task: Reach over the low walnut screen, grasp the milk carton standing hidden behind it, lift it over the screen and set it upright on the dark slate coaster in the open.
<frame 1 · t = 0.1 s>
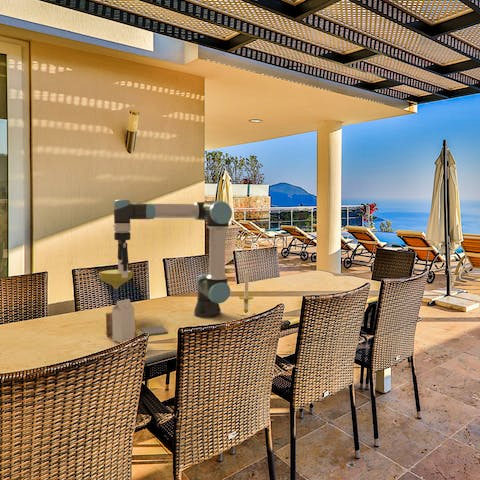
hand: (122, 275, 204), 28 cm above the table, fingers open, 13 cm apart
milk carton: (123, 340, 193), on the table
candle: (245, 314, 241), on the table
screen: (120, 334, 202), on the table
cocktail glass: (116, 315, 234), on the table
coaster: (154, 331, 207), on the table
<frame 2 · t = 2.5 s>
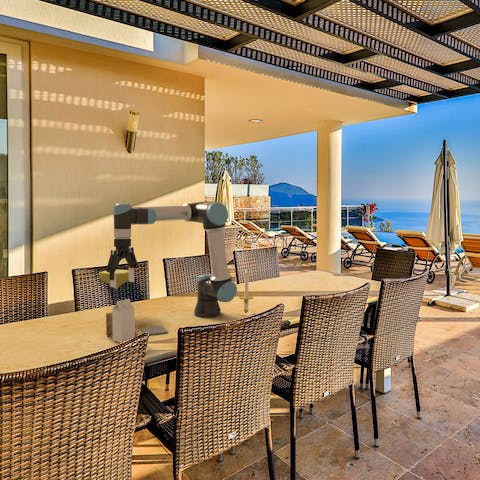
hand: (122, 284, 190), 26 cm above the table, fingers open, 13 cm apart
nothing on the table moved.
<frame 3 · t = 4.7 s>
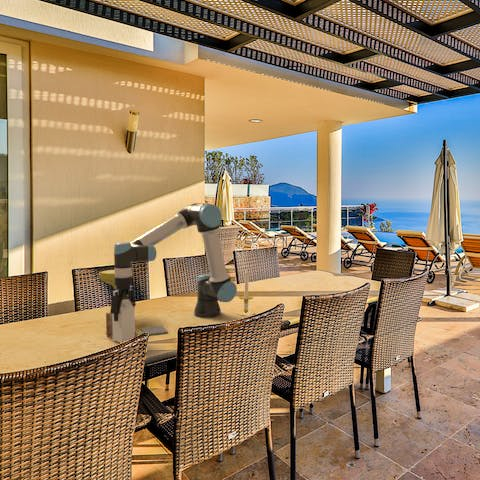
hand: (123, 324, 192), 7 cm above the table, fingers closed on milk carton, 8 cm apart
milk carton: (123, 340, 193), on the table, touching gripper
everything else where it was.
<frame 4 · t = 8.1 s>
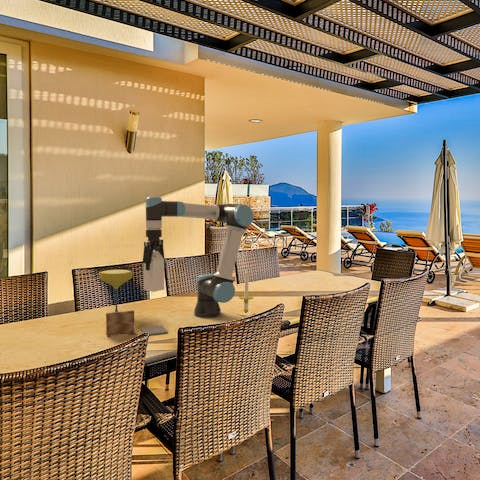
hand: (153, 275, 204), 28 cm above the table, fingers closed on milk carton, 8 cm apart
milk carton: (153, 290, 205), point 21 cm above the table, touching gripper
everything else where it was.
when the fingers open (9 cm above the table, at t = 11.9 s): milk carton stays where it is, resting on coaster.
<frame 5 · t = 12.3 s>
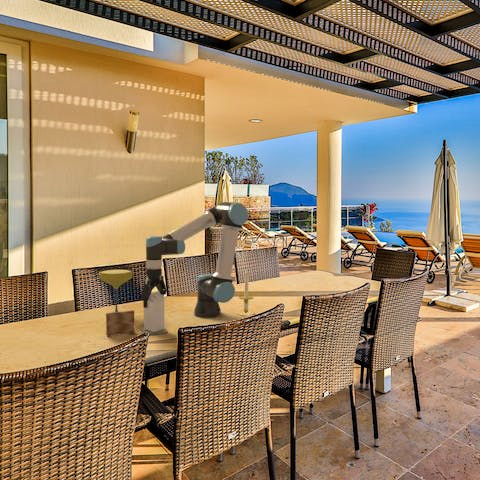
hand: (154, 310, 206), 10 cm above the table, fingers open, 13 cm apart
milk carton: (154, 329, 207), point 1 cm above the table, touching coaster
everything else where it was.
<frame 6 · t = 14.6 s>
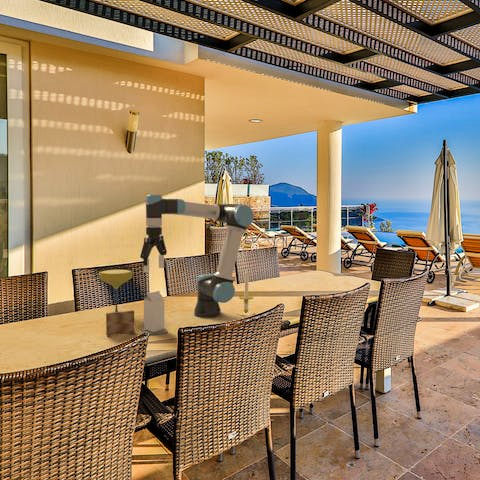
hand: (154, 270, 204), 31 cm above the table, fingers open, 13 cm apart
nothing on the table moved.
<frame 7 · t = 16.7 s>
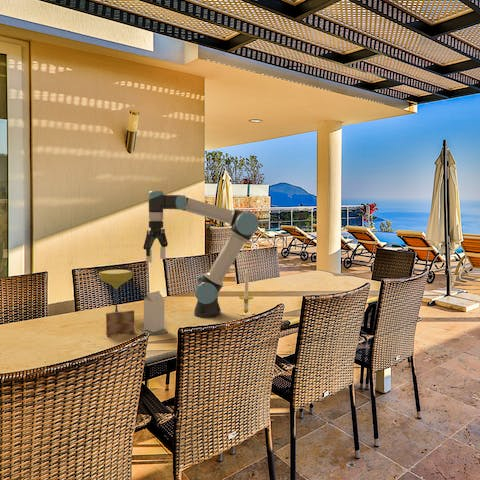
hand: (156, 260, 221), 33 cm above the table, fingers open, 13 cm apart
nothing on the table moved.
at the end: milk carton inside the target area on the coaster (0.0 cm from its centre), point 0.6 cm above the coaster's base; milk carton tilted 0°; the gripper is holding nothing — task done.
